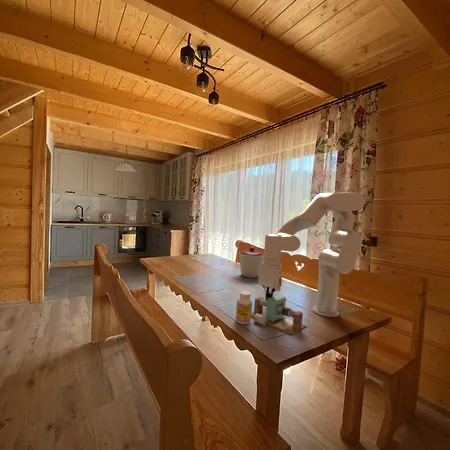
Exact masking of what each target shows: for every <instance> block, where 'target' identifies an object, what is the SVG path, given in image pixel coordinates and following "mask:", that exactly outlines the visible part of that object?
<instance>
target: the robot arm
mask: <svg viewBox="0 0 450 450" xmlns="http://www.w3.org/2000/svg"><path fill="white" fill-rule="evenodd" d="M364 205H365V197H364V195H363V194H362V193H361V192H358V191H347V192H344V191H343V192H342V191H341V192H322V193H318V194H317V195H316V196H314V198H313V199H312V200H311V201H310V203H308V205H307V206H306V207H305V208H304V209H303V210H302V212H301V213H300V214H298V215H296V216H295V217H293V218H291V219H290V220H288V221H287V222H286V223H284V224H283V225H282V226H281V228H280V229H279V230H277V232H276V233H267V234H266V235H265V237H264V249H263V254H264V256H263V257H262V260H263V261H262V264H261V267H260V272H259V276H258V282H257V283H258V284H259V285H260V286H261V287H262V288H263V289H264V292H265V295H264V296H265V298H264V300H265V301H267V299H268V298H270V297H273V296H274V293H275V292H280V291H281V287H282V283H283V277H282V276H283V273H282V272H283V270H282V265H281V257H282V256H281V255H282V251H284V252H290V253H291V252H292V253H293V252H295V251H298V250H299V249H300V247H301V240H300V239H299V237H298V236H296V234H298V233H299V232H301V231H303V230H307V229H310V228H313V227H315V226H316V225H317V224H318V223H319V222H320V221H321V219H322V218H323V217H324V216H325V215H326V213H327V212H332V213H334V214H335V219H334V222H333V225H332V227H331V230H330V233H329V237H328V240H327V241H328V243H329V245H330V246H331V247H333V248H336V249H340V251H339V250H335V249H331V248H325V249H323V250H321V251H320V253H319V255H318V258H317V259H318V260H317V261H318V280H317V289H316V302H315V305H313V306H312V311H313V312H314V313H315V314H317V315H320V316H323V317H328V318H337V317H339V316H340V311H339V310H338V309H337V305H338V304H339V303H338V295H339V284H340V274H342V275H347V274H350V273H351V272H352V271H353V269H354V267H355V265H356V263H357V260H358V257H359V254H360V252H361V249H362V244H363V239H362V236H361V234H359V232H357V231H354V230H352V229H353V228H354V227H353V226H354V222H355V217H354V214H353V212H354V211H355V212H356V211H359V210H361V209H362V208H363V207H364Z"/></svg>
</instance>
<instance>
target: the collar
mask: <svg viewBox="0 0 450 450" xmlns="http://www.w3.org/2000/svg"><path fill="white" fill-rule="evenodd" d="M286 302H287V297H286V296H284V295H282V294H280V293H279V294H275V295H273V297H270V298H268V299H267V306H266V307H265V309H266V317H267V318H268V320H270V321H276V320H278V319H280V318H282V317H285V315H283V314H282V313H280V312H277V305H279V306H282V307H286Z"/></svg>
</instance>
